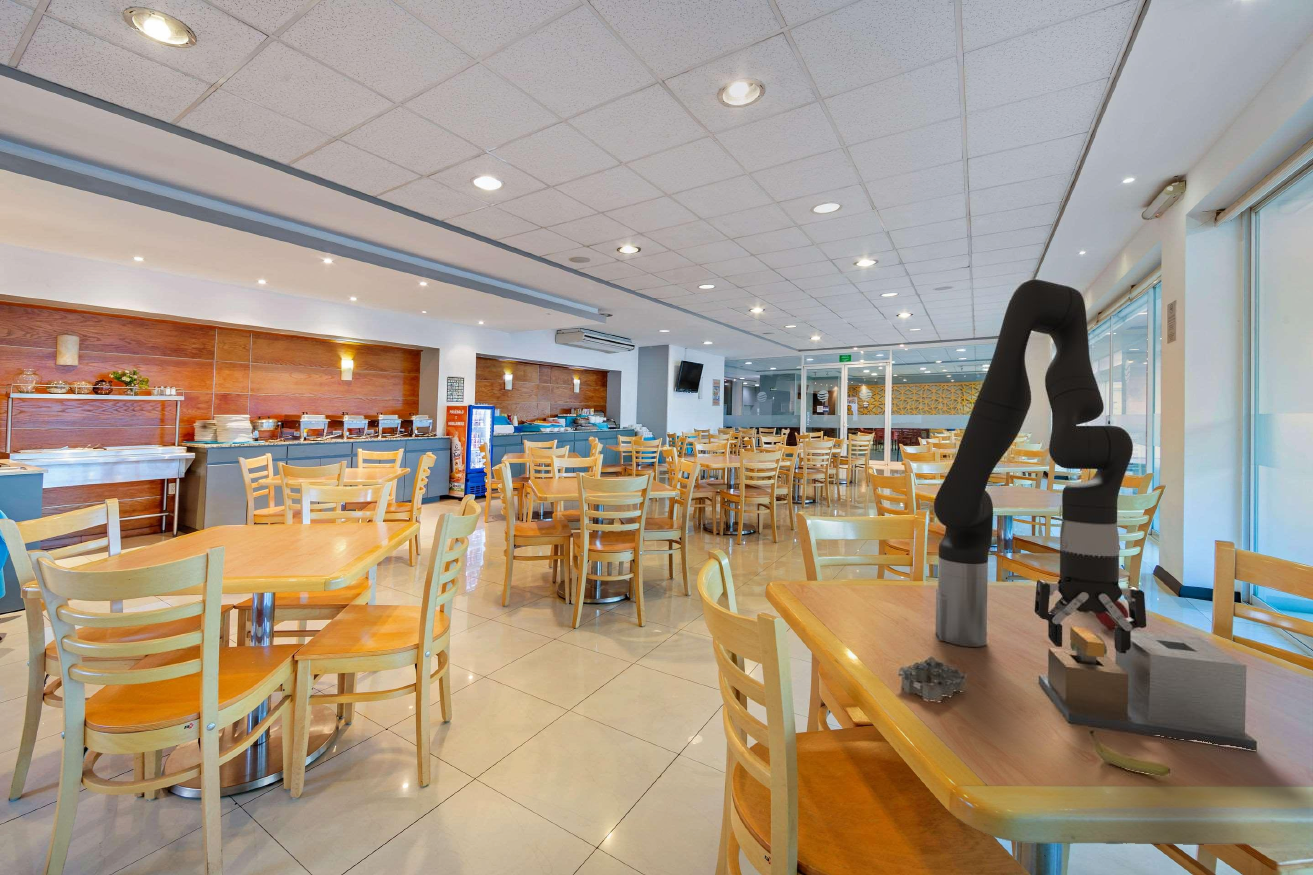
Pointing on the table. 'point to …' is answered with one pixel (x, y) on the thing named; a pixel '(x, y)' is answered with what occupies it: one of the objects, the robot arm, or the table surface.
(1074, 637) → the key
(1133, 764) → the banana
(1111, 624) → the onion
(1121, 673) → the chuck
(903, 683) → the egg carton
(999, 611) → the table surface
